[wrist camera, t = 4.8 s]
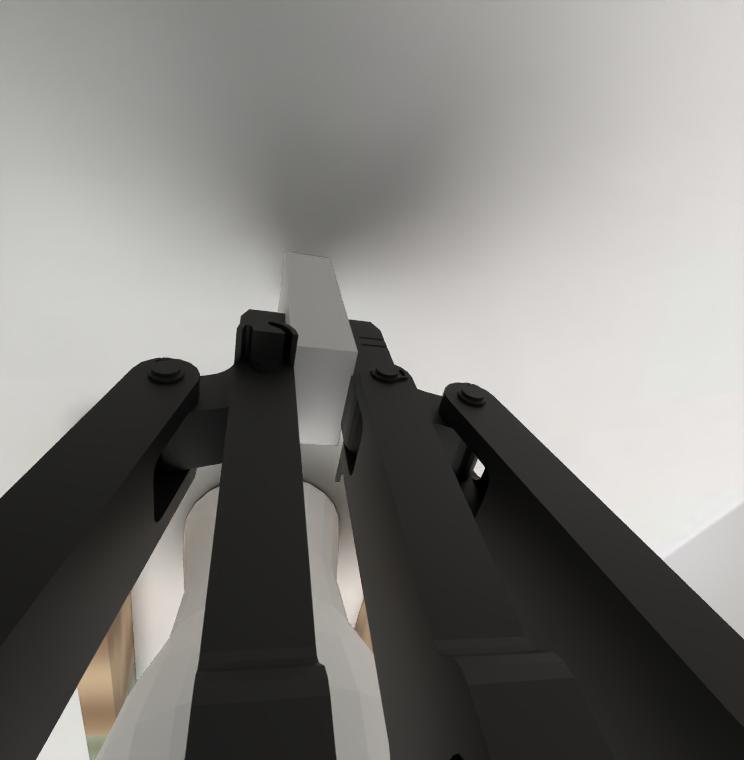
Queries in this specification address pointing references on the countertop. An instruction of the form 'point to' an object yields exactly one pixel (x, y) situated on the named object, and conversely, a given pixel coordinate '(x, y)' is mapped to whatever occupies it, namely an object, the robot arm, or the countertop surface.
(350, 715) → the cup
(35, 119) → the countertop surface
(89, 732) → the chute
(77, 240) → the countertop surface
